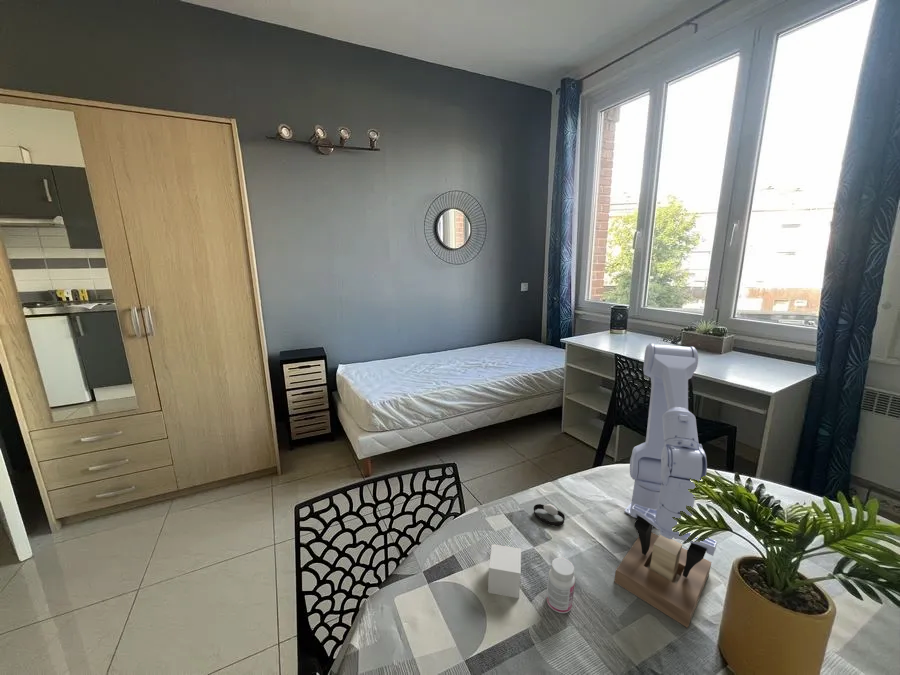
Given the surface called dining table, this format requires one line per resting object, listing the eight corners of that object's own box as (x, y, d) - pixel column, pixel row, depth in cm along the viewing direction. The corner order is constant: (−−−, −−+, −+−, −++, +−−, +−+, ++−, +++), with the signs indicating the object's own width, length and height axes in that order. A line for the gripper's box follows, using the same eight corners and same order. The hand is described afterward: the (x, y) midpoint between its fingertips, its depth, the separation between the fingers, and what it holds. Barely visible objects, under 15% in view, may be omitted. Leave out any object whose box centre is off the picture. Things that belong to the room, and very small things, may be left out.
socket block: (642, 539, 86) (644, 528, 85) (708, 574, 77) (711, 562, 76) (614, 581, 75) (615, 569, 74) (687, 628, 66) (690, 614, 65)
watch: (566, 520, 92) (567, 507, 91) (561, 532, 88) (562, 519, 87) (536, 508, 96) (537, 496, 95) (530, 519, 92) (531, 507, 91)
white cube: (490, 567, 78) (491, 543, 77) (519, 572, 77) (521, 548, 76) (487, 593, 72) (488, 567, 71) (519, 598, 71) (520, 573, 70)
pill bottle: (573, 616, 68) (577, 579, 66) (546, 611, 69) (550, 574, 67) (570, 593, 72) (574, 557, 70) (545, 589, 73) (548, 553, 71)
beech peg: (654, 565, 79) (660, 533, 77) (676, 577, 76) (682, 544, 74) (648, 576, 76) (653, 544, 74) (670, 589, 73) (676, 555, 71)
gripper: (628, 496, 74) (620, 552, 77) (715, 535, 64) (702, 598, 67) (641, 480, 79) (633, 534, 82) (724, 515, 69) (711, 575, 72)
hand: (664, 562), depth 75 cm, fingers open, 7 cm apart
